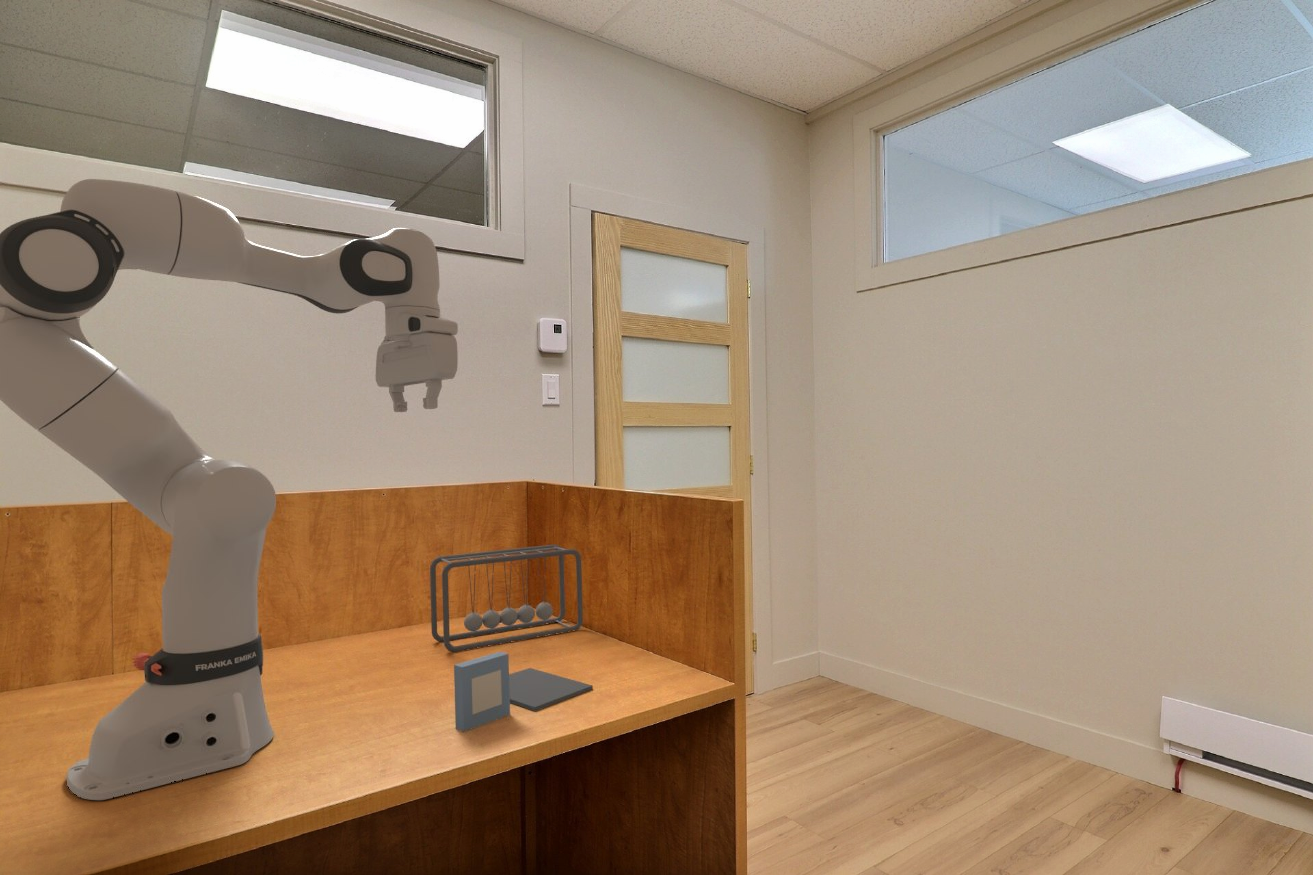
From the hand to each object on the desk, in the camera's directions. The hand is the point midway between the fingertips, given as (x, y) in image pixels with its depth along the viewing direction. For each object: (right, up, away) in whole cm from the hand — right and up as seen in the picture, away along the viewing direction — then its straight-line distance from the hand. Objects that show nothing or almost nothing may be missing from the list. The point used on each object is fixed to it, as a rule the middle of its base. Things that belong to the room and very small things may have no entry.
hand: (415, 410), depth 120 cm
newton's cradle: (+9, -47, +31) cm, 57 cm away
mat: (+20, -46, -3) cm, 50 cm away
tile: (+15, -46, -16) cm, 51 cm away
